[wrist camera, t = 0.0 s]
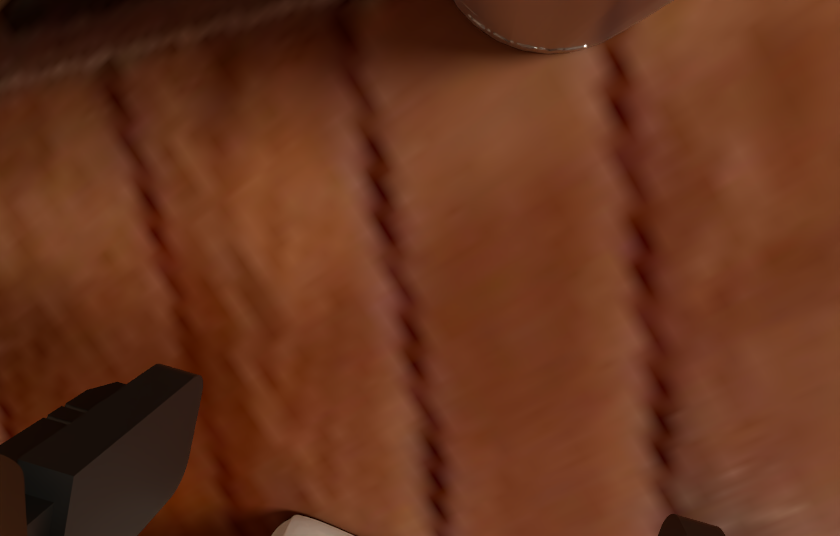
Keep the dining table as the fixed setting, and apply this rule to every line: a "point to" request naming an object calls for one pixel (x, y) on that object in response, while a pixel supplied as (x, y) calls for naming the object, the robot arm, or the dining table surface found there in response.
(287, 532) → the photo printer
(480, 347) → the dining table surface
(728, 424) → the dining table surface
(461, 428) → the dining table surface
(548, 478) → the dining table surface
